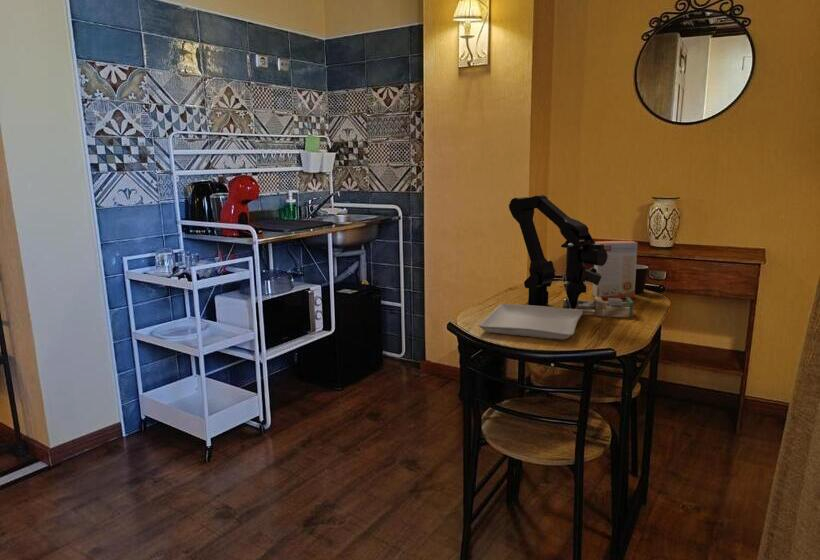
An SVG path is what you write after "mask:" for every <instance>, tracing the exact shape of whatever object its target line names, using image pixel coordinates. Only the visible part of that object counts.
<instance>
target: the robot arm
mask: <svg viewBox="0 0 820 560" xmlns="http://www.w3.org/2000/svg"><path fill="white" fill-rule="evenodd" d="M535 209H537V210H538V211H540V212H541V213H542V214H543V215H544V216H545V217H546V218H547V219H548V220H549V221H551V223H553V224H554V225H556V226H557V228H558V229H559V232H560V234H561V235H562V237H563V238H564V239H565V242H564V243H562V244H561V245H560V247H561V248H565V249H566V256H565V257H566V258H565V273H564V274H563V275H562V282H563V283H564V284H563V287H564V290H565V293H566V296H567V299H568V300H569V302H570V305H571V308H572V309H575V307H576V304H577V301H578V300H579V297H580V295H581V294H584V293H585V294H586V293H587V284H585V282H589V283H591V284H593V283H594V284H595V285H598V284H599V282H600V280H601V277H602V276H601V275H600V274H599V273H597V270H596V269H595V268H594V267H591V268H589V269H588V268H586V266H585V264H587V265H592V266H594V265H598V266H603V265H604V264H605V263H606V261H607V257H608V254H607V252H606V250H605V249H604V245H603V244H599V245H598V244H595V242H596V241H594V239H593V237H592V235H591V234H590V233H591V232H589V227H588V226H587V225H586V224H585V223H584V222H581V221H579V220H577V219H575V218H572V217H570V216H568V214H566V213H565V212H563V210H562V209H560V208H559V207H558V206H556V205H555V204H554V203H553V202H552V201H551V200H549V198H548V196H546V195H545V194H539V195H533V196H531V197H530V196H529V197H527V196H525V197H524V196H523V197H522V196H521V197H514V198H512V199H510V201H509V204H508V210H509V211H510V214H511V215H512V217H513V219H514V220H515V221H516V222H517V223H518V224H519V227H520V230H521V234H522V237H523V241H524V243H525V247H526V250H527V254H528V257H529V260H530V263H529V268H528V271H529V276H528V277H527V278H526V279H525V280H524V282H523V284H524V285H523V286H524V288H525V289H528V298H527V299H528V300H527V305H534V306H546V307H548V304H549V291H548V287H551V286H552V283H553V282H554V279H555V278H556V269H555V267H554V262H553V261H552V260H547V259H546V257H545V255H544V252H543V249H542V245H541V242H540V239H539V236H538V233H537V229H536V225H535V223H534V214H535Z"/></svg>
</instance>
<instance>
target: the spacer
mask: <svg viewBox="0 0 820 560" xmlns="http://www.w3.org/2000/svg"><path fill="white" fill-rule="evenodd" d="M607 302H608V305H607V306H608V307H622V302H623V300H622V298H607Z"/></svg>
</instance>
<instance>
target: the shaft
mask: <svg viewBox="0 0 820 560" xmlns="http://www.w3.org/2000/svg"><path fill="white" fill-rule="evenodd" d="M562 302H563V303H562V308H565V309H572V308H571V305H570V302H569V299H568V298H563V301H562ZM575 309H582V310H596V301H594V300H579V299H578V301H577V304H576V307H575Z"/></svg>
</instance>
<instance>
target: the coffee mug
mask: <svg viewBox="0 0 820 560" xmlns="http://www.w3.org/2000/svg"><path fill="white" fill-rule="evenodd" d="M648 271H649V266H647V265H643V264H636V279H635V295H638V294H637V293H642V294H644V292H645V291H644V290H645V287H646V283H647V276H648Z"/></svg>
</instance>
